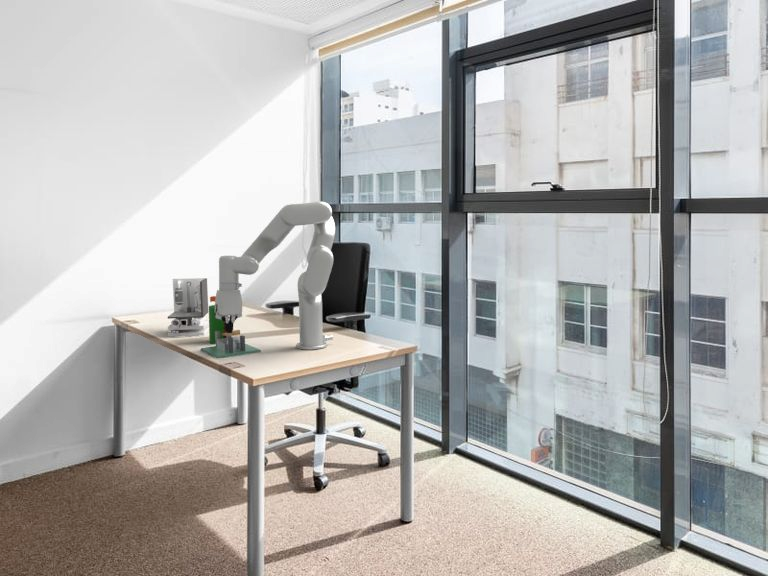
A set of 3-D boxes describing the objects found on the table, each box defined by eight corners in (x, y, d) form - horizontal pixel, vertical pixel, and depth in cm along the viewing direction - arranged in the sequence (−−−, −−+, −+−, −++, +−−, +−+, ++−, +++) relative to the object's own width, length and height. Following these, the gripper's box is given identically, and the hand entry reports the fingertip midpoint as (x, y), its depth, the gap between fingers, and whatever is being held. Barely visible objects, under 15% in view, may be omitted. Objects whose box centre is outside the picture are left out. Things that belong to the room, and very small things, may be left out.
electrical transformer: (209, 329, 294) (206, 278, 291) (202, 337, 275) (200, 282, 272) (175, 330, 292) (173, 279, 289) (166, 338, 273) (164, 283, 270)
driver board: (242, 344, 258) (241, 328, 257) (260, 352, 244) (260, 334, 243) (200, 350, 248) (200, 333, 247) (217, 358, 233) (216, 340, 232)
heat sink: (231, 344, 254) (231, 328, 254) (243, 349, 245) (243, 333, 244) (213, 346, 250) (212, 331, 249) (224, 351, 240) (224, 335, 239)
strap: (226, 334, 251) (226, 330, 251) (240, 334, 240) (239, 329, 240) (219, 335, 250) (219, 331, 250) (233, 335, 238) (232, 330, 238)
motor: (231, 343, 261) (229, 297, 259) (209, 344, 259) (208, 298, 256) (230, 338, 271) (228, 294, 269) (209, 340, 268) (207, 295, 266)
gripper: (242, 285, 248) (242, 329, 250) (207, 286, 239) (207, 332, 241) (250, 287, 242) (250, 332, 244) (214, 288, 233) (214, 335, 235)
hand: (229, 332), depth 243 cm, fingers closed
